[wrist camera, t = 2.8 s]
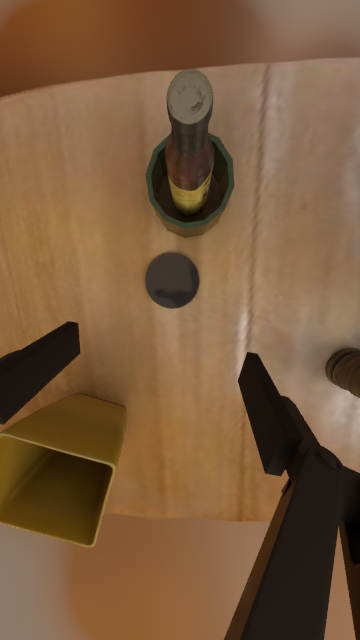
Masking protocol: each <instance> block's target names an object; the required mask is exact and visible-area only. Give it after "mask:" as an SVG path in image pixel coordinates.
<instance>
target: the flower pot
mask: <svg viewBox="0 0 360 640" xmlns="http://www.w3.org/2000/svg"><path fill="white" fill-rule="evenodd" d="M125 425H126V409H125V407H124V406H121V405H117V404H114V403H111V402H107V401H104V400H100V399H97V398H93V397H90V396H86V395H83V394H75V395H72V396H69V397H67V398H64V399H61V400H59V401H57V402H54V403H52V404H50V405H48V406H46V407H44V408H42V409H40V410H38V411H36V412H34V413H32V414H30V415H28V416H27V417H25V418H23V419H21V420H20V421H18V422H16V423H15V424H13V425H11V426H10V427H8V428H7V429H5V430H4V431H2V432H1V433H0V524H4V525H7V526H11V527H14V528H18V529H22V530H26V531H29V532H33V533H36V534H40V535H44V536H47V537H51V538H55V539H58V540H62V541H66V542H70V543H73V544H77V545H81V546H84V547H93V546H94V545H95V543H96V540H97V536H98V532H99V529H100V525H101V522H102V518H103V514H104V511H105V507H106V503H107V500H108V496H109V492H110V489H111V485H112V482H113V478H114V475H115V472H116V468H117V465H118V461H119V457H120V453H121V448H122V444H123V439H124V433H125Z"/></svg>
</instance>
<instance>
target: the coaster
mask: <svg viewBox="0 0 360 640" xmlns="http://www.w3.org/2000/svg"><path fill="white" fill-rule="evenodd" d="M198 287H199V275H198V272H197V269H196V267H195V266H194V264H193V263H192V262H191V261H190V260H189V259H188V258H186V257H184V256H182V255H179V254H173V253H171V254H165V255H162V256H160V257H158V258H157V259H155V260H154V261H153V262H152V263H151V265H150V266H149V268H148V270H147V273H146V288H147V291H148V293H149V295H150V297H151V298H152V299H153V300H154V301H155V302H156V303H157V304H159V305H161V306H163V307H166V308H179V307H182V306H184V305H186V304H188V303H189V302H190V301H191V300H192V299H193V298H194V296H195V295H196V293H197V290H198Z"/></svg>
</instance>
